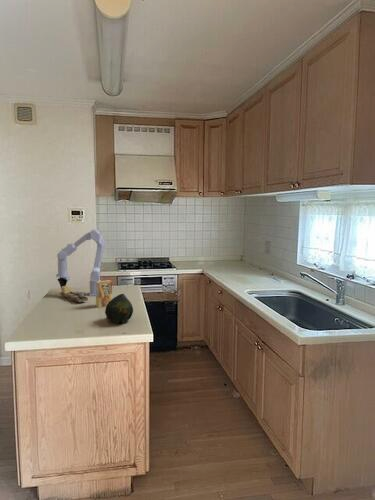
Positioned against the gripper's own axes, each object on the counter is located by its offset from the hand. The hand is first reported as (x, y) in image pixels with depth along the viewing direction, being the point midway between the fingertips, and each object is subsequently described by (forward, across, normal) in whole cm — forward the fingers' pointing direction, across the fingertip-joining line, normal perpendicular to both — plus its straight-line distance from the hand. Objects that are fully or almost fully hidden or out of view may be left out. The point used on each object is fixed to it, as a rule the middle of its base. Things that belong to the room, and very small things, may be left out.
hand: (63, 289), depth 246 cm
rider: (+2, +4, 0) cm, 4 cm away
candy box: (+5, +39, +6) cm, 40 cm away
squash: (+5, +68, -4) cm, 68 cm away
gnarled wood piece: (+5, +14, 0) cm, 15 cm away
